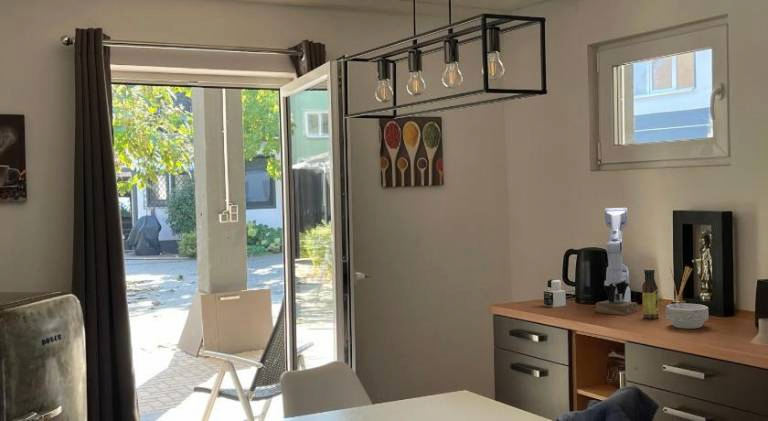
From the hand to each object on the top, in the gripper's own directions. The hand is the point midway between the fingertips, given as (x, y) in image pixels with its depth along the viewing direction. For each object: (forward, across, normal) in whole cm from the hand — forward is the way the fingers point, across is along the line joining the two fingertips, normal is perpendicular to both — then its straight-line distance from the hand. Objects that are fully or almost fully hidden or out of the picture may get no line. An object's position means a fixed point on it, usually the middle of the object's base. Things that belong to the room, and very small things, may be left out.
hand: (616, 300), depth 357 cm
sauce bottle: (+5, +5, +19) cm, 20 cm away
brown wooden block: (+5, 0, 0) cm, 5 cm away
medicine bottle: (+5, 0, -32) cm, 32 cm away
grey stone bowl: (+5, +15, +40) cm, 43 cm away
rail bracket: (+5, 0, 0) cm, 5 cm away
